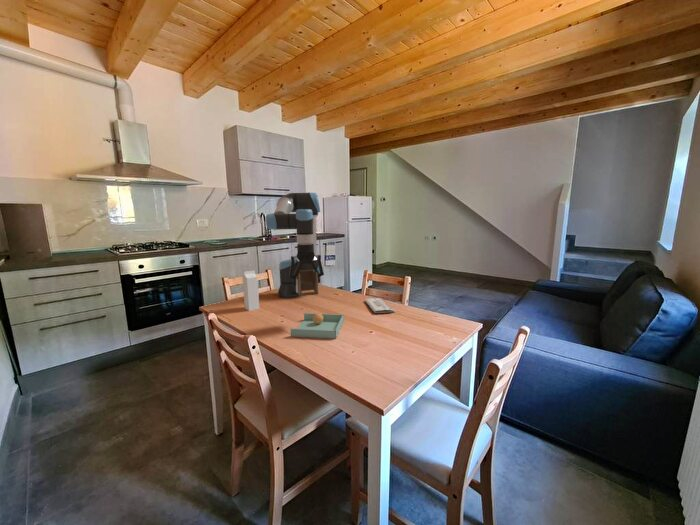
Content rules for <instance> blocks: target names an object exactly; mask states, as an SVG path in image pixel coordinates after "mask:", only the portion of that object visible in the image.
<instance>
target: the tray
mask: <svg viewBox="0 0 700 525" xmlns="http://www.w3.org/2000/svg"><path fill="white" fill-rule="evenodd" d="M315 314H316V313H314V312H313V313H310V312H308V313H307V312H304V313H303V321H302V322H301V323H300V324H299V325H298V327H297V328H290V331H289V332H290V337H291V338H311V339H312V338H314V339H331V340H332V339H334V340H336V339H337V338H338V335H339V333H340V331H341V329H342V327H343V324H344V322H345V320H344V318H345V317H344V316H345V315H344V314H337V313H320V314H321V315H322V316H323V322H322V323H320V324H316V323H314V321H313V316H314V315H315Z"/></svg>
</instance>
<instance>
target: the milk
mask: <svg viewBox="0 0 700 525" xmlns="http://www.w3.org/2000/svg"><path fill="white" fill-rule="evenodd" d="M258 280H259V279H258V275H257V274H256V273H255V269H253V270H247V271H244V273H243V275H242V289H243V300H244V301H243V302H244V309H245V310H246V311H249V312H251V311H256V310H260V296H259V283H258V282H259V281H258Z"/></svg>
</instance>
